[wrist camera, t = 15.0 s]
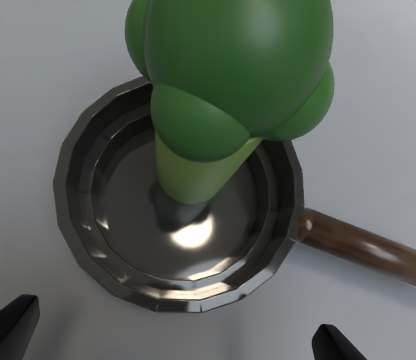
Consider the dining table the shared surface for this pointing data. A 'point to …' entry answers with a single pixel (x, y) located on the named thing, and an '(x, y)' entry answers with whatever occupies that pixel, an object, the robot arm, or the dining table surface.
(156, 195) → the pan
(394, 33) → the dining table surface
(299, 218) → the pan handle
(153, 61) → the broccoli
